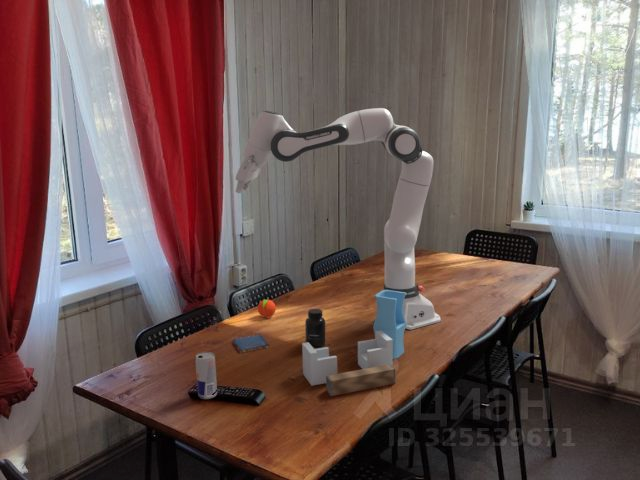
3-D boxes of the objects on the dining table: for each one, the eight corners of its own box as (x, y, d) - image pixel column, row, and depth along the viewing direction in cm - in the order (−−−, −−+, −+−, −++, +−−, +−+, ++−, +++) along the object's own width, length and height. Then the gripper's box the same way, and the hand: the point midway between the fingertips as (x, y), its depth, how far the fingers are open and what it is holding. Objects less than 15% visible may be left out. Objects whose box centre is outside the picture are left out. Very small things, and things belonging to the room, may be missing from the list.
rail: (389, 378, 168) (390, 364, 167) (395, 383, 164) (395, 368, 163) (326, 390, 161) (326, 375, 160) (330, 396, 158) (330, 381, 157)
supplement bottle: (311, 349, 189) (310, 315, 186) (302, 342, 195) (301, 309, 192) (329, 345, 192) (328, 312, 189) (320, 338, 198) (319, 306, 195)
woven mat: (231, 343, 197) (230, 338, 196) (260, 338, 201) (260, 333, 200) (239, 355, 187) (238, 349, 187) (269, 349, 191) (269, 343, 191)
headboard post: (381, 359, 180) (381, 330, 178) (392, 370, 172) (392, 339, 170) (357, 364, 177) (357, 334, 175) (368, 374, 170) (368, 343, 168)
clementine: (272, 321, 215) (271, 303, 214) (255, 320, 217) (254, 303, 215) (278, 314, 223) (277, 297, 222) (261, 313, 225) (260, 296, 223)
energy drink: (199, 391, 163) (196, 352, 160) (218, 389, 163) (215, 351, 160) (197, 400, 157) (193, 360, 155) (216, 399, 158) (213, 359, 155)
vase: (395, 359, 180) (396, 299, 175) (373, 354, 184) (373, 295, 180) (405, 350, 186) (406, 292, 182) (384, 346, 190) (384, 289, 186)
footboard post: (328, 369, 174) (327, 339, 172) (337, 380, 167) (336, 349, 164) (303, 374, 171) (302, 343, 169) (311, 385, 164) (310, 353, 162)
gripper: (257, 160, 188) (242, 198, 191) (269, 157, 208) (255, 191, 211) (240, 152, 188) (225, 190, 191) (253, 149, 208) (239, 184, 211)
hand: (241, 190), depth 201 cm, fingers open, 8 cm apart
